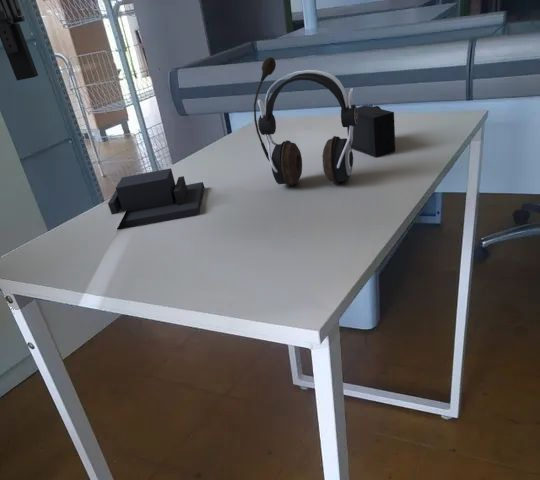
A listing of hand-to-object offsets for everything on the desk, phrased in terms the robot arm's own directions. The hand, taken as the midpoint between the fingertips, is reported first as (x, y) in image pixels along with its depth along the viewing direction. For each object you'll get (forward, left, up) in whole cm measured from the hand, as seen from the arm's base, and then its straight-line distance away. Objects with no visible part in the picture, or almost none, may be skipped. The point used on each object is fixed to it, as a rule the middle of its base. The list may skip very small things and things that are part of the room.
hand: (27, 77), depth 78 cm
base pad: (+10, +8, -24) cm, 27 cm away
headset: (+39, +6, -25) cm, 46 cm away
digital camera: (+52, +20, -25) cm, 61 cm away
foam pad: (+10, +8, -23) cm, 26 cm away
